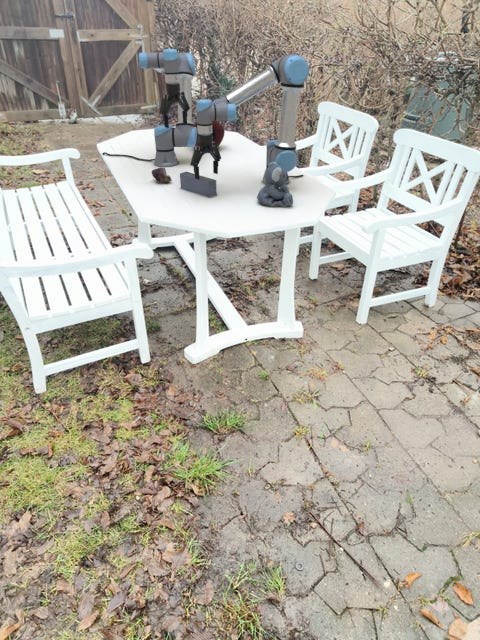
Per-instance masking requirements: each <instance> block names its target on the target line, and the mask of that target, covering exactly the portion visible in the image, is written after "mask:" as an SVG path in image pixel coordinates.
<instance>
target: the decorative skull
mask: <svg viewBox="0 0 480 640" xmlns="http://www.w3.org/2000/svg"><path fill="white" fill-rule="evenodd" d="M193 124H194V127H196V128H197V121H196V122H195V123H193ZM212 135H213V142H216V143H217V148H218V147H219V146H220V145H221V144H222V141H223V140H224V137H225V128H224V126H223V125H222V124H221V123H220V122H219V121H212ZM195 146H199V142H198V131H197V139H196V144H195ZM212 149H213V148H212Z"/></svg>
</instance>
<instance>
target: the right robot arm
mask: <svg viewBox="0 0 480 640" xmlns="http://www.w3.org/2000/svg"><path fill="white" fill-rule="evenodd" d="M309 73H310V66H309V63H308V61H307V60H306V59H305V58H304V57H303V56H300V55H298V54H293V53H287V54H284V55H282V56H281V57H279V58H277V59H276V60H275V61H273V62H272V63H270V64H268V66H267V69H265V70H263V71H261V72H260V73H258V74H257V75H255V76H254V77H252V78H250V79H248V80H247V81H246V82H244V83H242V84H241V85H239V86H238V87H236V88H235V89H233V90H231V91H230V92H228V93H226V94H225V95H224V96H222V97H220V98H216V99H214V100H213V102H212V100H211V99H206V98H205V99H203V98H202V99H198V100H197V101H196V111H195V112H196V122H197V131H198V142H199V146H194V147H193V153H192V156H191V160H190V163H189V165H190V166H192V167H193V173H194V174H195V179H198V180H199V179H200V178H199V175H200V166H199V164H200V162H201V160H202V159H203V156H204V155H205V154H209V155H210V157H212V159H213V161H212V170H213V171H212V173H213V174H215V175H218V174H219V162H220V161H221V159H222V155H221V153H220V151H219V148H218V147H217V143H216V142H213V135H212V121H217V122H224V121H228V122H231V121H235V120H236V118H237V107H238V106H240V105H242V104H244V103H245V102H247V101H248V100H250V99H251V98H253V97H255V96H257V95H258V94H259V93H261V92H263V91H265V90H266V89H268V88H269V87H271V86H273V85H279V84H280V88H281V89H282V95H281V106H280V115H279V116H280V117H279V126H278V135H277V139H271V140H268V141H267V142H266V147H265V148H266V157H265V158H266V160H265V171H264V173H263V177H262V183H263V184H264V185H266V174H267V171H268V167H269V163H272V162H275V163H276V164H277V165H280V166H281V167H282V169H283V170H284V171H285V174H286V175H287V176H288V180H287V181H286V182H285V183H284V185H288V184H289V183H290V178H301V177H304V174H299V175H289V172H291V171H293V170H294V169H295V168H296V166H297V165H298V164H297V163H298V157H297V154H296V153H297V144H296V143H295V137H296V128H297V120H298V114H299V112H298V111H299V106H300V104H299V103H300V97H301V91H302V90H304V89H305V82H306V80H307V79H308V77H309ZM212 148H213V149H212Z"/></svg>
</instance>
